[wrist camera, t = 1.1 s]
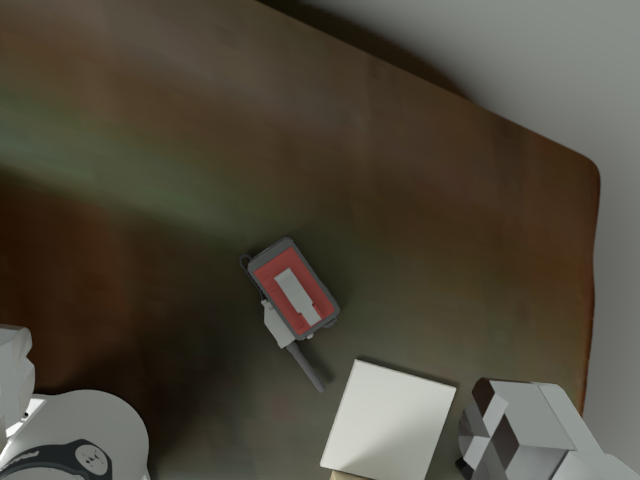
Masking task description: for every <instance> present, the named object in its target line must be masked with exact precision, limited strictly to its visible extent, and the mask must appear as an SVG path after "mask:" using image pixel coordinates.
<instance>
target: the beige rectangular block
mask: <svg viewBox="0 0 640 480" xmlns="http://www.w3.org/2000/svg"><path fill="white" fill-rule="evenodd" d="M330 480H372V479H368V478H364V477H359V476H355V475H351V474H347V473H343V472H339V471H335V470H333V472H332V475H331V478H330Z"/></svg>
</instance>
